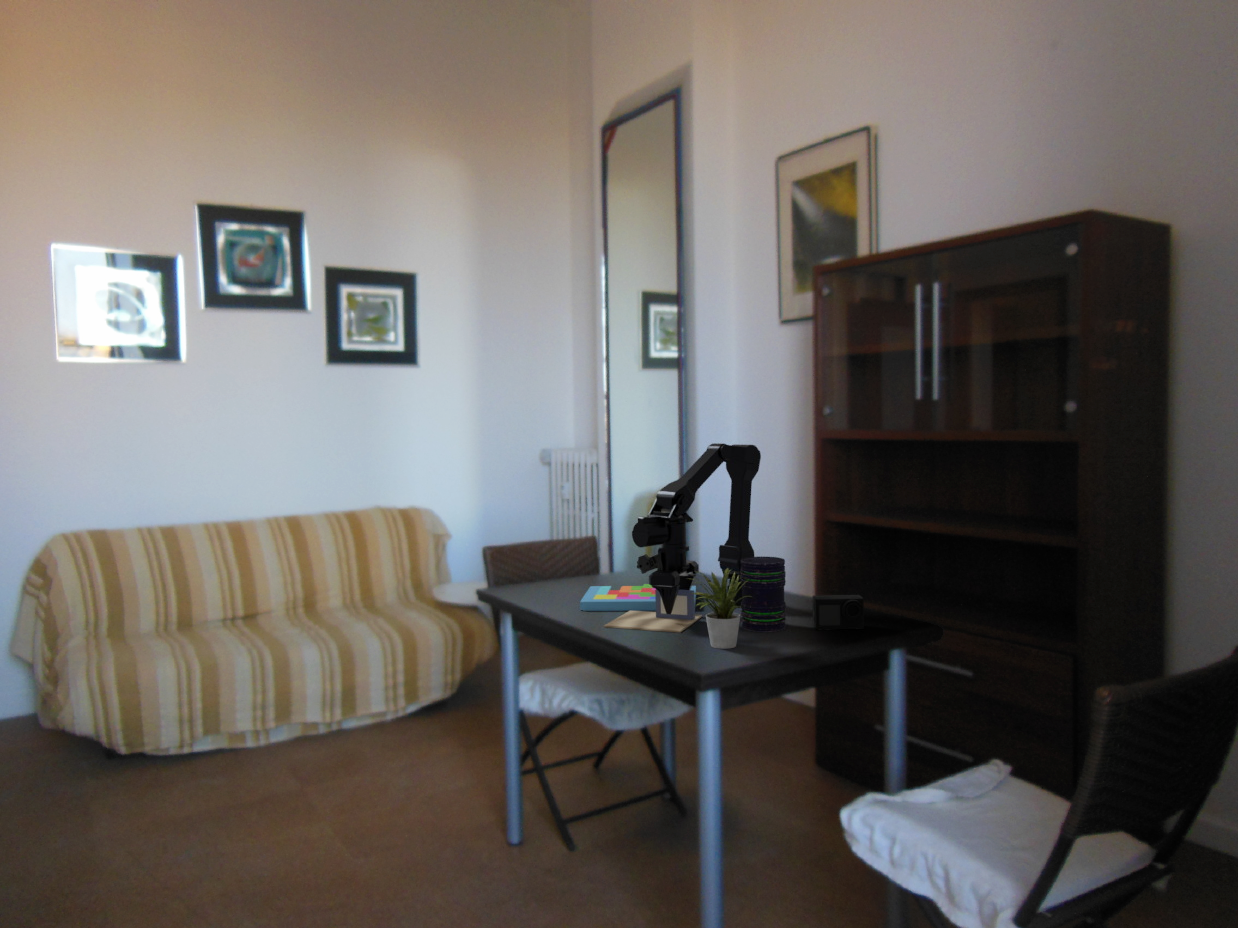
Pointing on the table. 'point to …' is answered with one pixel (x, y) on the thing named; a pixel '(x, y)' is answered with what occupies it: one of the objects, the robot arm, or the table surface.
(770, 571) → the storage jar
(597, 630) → the table surface
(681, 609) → the card deck
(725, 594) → the house plant
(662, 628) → the wooden mat
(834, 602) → the digital camera
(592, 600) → the tetris game
